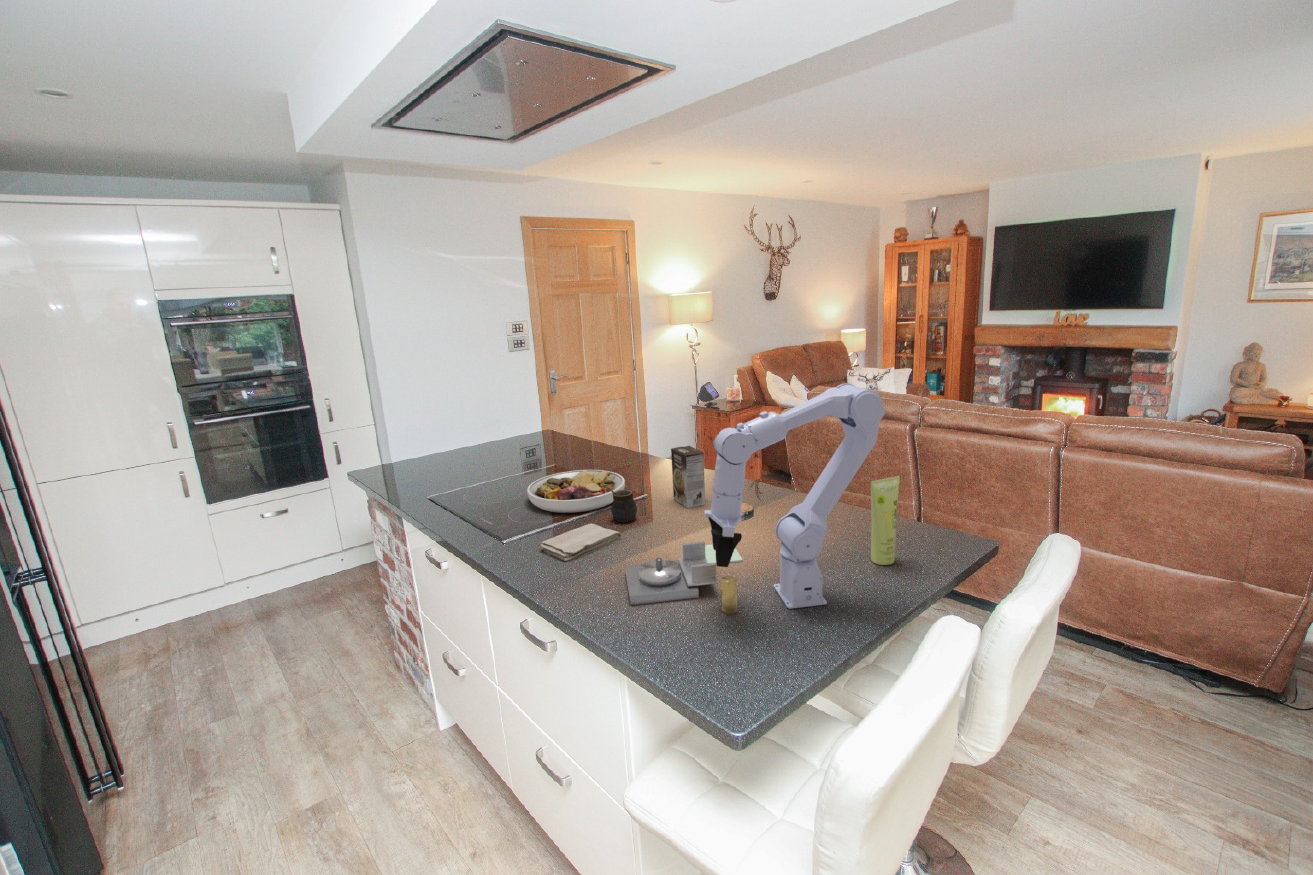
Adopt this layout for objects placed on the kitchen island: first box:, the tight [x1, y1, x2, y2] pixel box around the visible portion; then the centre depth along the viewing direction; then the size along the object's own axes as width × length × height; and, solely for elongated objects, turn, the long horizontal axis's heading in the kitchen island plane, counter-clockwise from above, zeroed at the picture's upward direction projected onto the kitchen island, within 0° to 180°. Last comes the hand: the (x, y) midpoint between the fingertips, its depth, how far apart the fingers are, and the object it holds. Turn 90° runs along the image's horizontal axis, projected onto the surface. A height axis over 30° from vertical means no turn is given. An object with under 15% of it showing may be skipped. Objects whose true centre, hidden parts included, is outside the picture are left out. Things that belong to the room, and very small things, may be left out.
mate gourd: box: [608, 488, 638, 523], centre depth 165 cm, size 7×8×10 cm
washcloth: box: [540, 523, 622, 562], centre depth 152 cm, size 12×18×3 cm, turn 136°
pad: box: [705, 543, 744, 565], centre depth 142 cm, size 10×10×1 cm
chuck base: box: [624, 560, 700, 606], centre depth 128 cm, size 14×14×2 cm
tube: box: [870, 475, 901, 566], centre depth 131 cm, size 6×5×20 cm
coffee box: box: [670, 445, 706, 509], centre depth 175 cm, size 9×6×16 cm
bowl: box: [526, 469, 626, 514], centre depth 185 cm, size 30×30×8 cm
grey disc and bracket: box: [639, 540, 717, 587], centre depth 128 cm, size 16×12×4 cm
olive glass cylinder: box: [720, 575, 738, 615], centre depth 116 cm, size 3×3×6 cm
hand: (720, 557), depth 117 cm, fingers open, 7 cm apart
